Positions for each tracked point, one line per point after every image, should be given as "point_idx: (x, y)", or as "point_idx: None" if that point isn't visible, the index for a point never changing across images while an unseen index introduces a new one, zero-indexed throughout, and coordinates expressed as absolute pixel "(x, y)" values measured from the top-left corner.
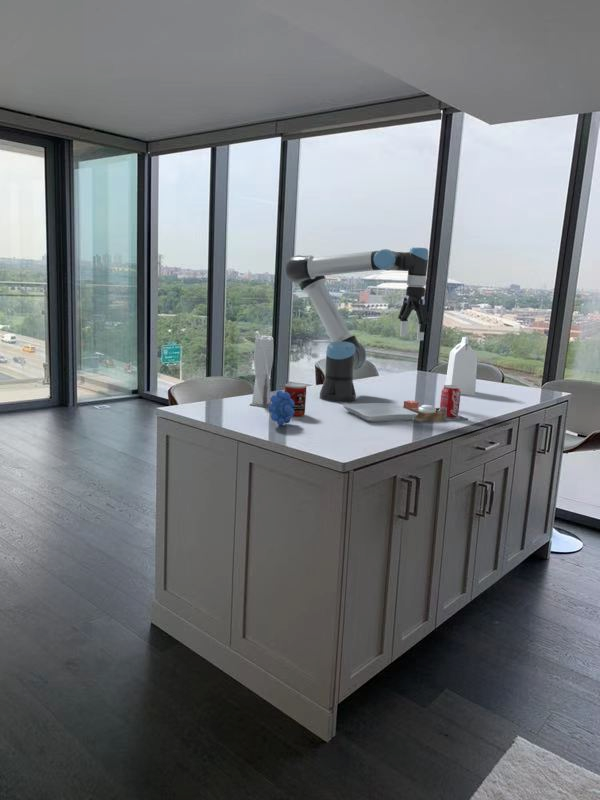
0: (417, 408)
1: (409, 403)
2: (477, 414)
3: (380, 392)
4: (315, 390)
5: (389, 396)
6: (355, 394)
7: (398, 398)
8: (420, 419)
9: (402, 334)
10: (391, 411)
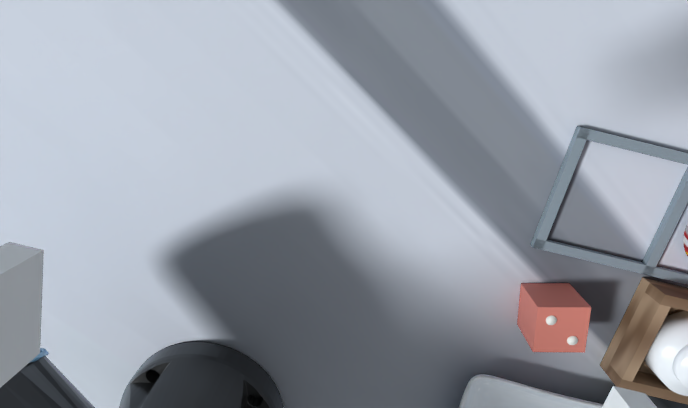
0: (639, 363)
1: (569, 349)
2: None
3: (103, 105)
4: None
5: (215, 138)
6: (253, 384)
7: (275, 129)
8: None
9: (7, 349)
10: (528, 403)
